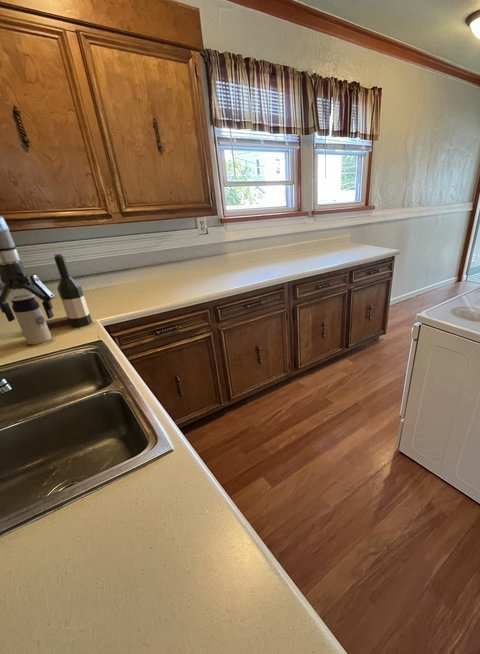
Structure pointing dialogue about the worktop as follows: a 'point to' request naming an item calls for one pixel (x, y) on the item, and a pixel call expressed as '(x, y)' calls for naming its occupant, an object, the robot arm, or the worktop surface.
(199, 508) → the worktop surface
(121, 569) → the worktop surface
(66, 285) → the wine bottle
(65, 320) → the granola bar
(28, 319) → the travel mug
